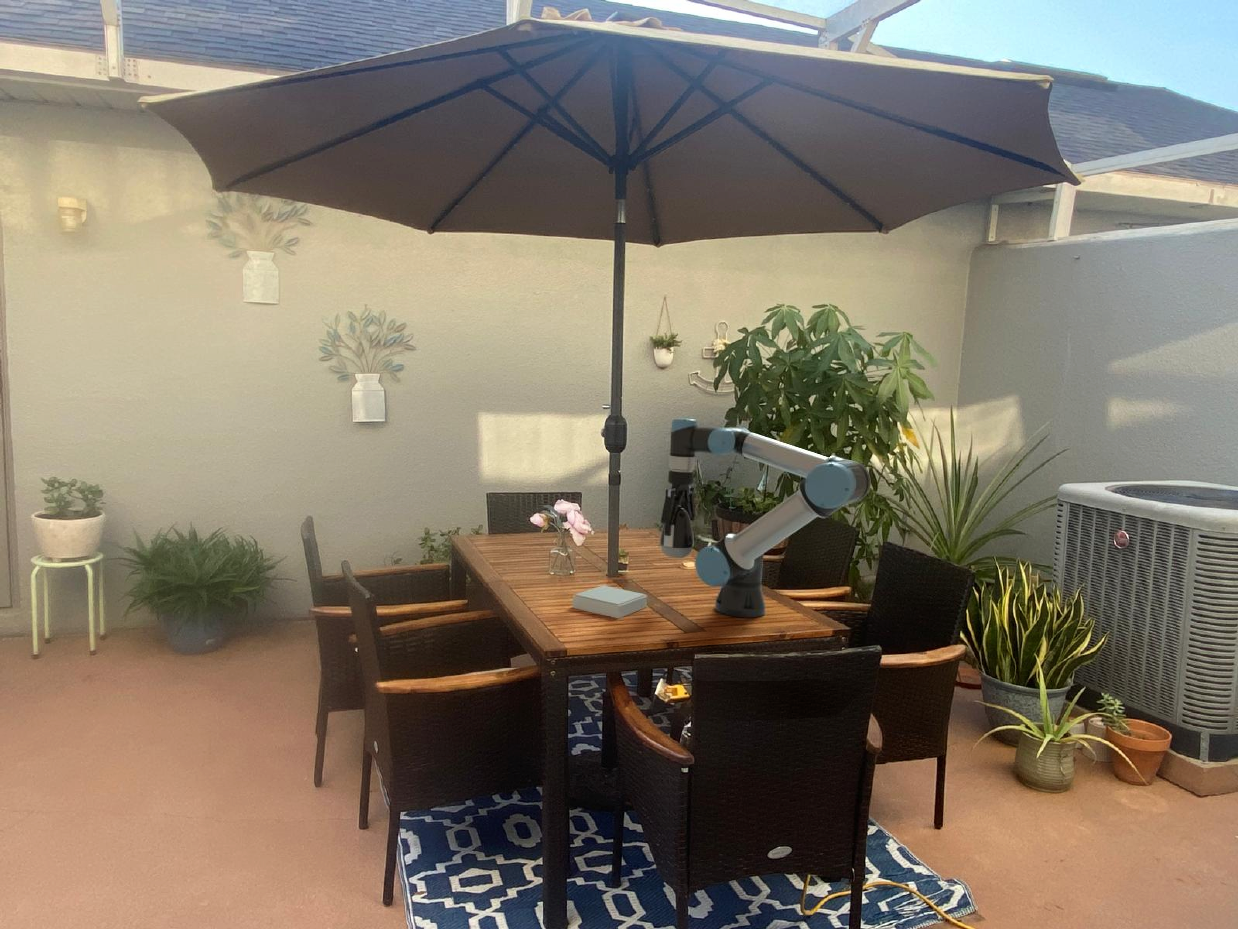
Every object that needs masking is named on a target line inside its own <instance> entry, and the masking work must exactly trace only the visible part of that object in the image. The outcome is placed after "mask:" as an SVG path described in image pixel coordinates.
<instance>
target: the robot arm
mask: <svg viewBox="0 0 1238 929" xmlns="http://www.w3.org/2000/svg"><path fill="white" fill-rule="evenodd" d="M670 428H671V430H670V447H669V448H670V449H669V450H670V451H669V458H668V461H669V463H668V464H669V466H668V468H669V471H668V475H667V476H668V477H667V482H668V483H669V484H671V489H665V498H664V503H663V507H662V512H661V518H660V523H661V524H662V525H664V524H665V532H664V546H667V547H673V538H674V525H672V524H673V521H674V518H675V515H676V512H677V509H678V506H679V505H680V507H683V508H684V509H686V511H687V513H688V515H689V517H690V520H691V522H694V521H695V518H696V509H695V508H696V506H695V495H694V494H695V487H694V486H690V485H693V484H694V478H695V473H694V470H695V462H696V460H695V458H696V453H703V454H704V453H705V454H711V455H712V454H713V455H717V456H720V455H721V456H723V455H730V454H731V453H732V454H736V455H739V456H742V457H745V458H748V459H751V460H753V461H756V462H759V463H761V464H764V465H767V466H770V467H774V468H776V469H779V470H781V471H783V472H786V473H787V472H788V473H790V474H794V475H795V476H799V477H802V478H804V479H803V480H802V481H800V482H799V483H798V489H797V491H796V492H794V493H793V494H792V495H790V496H788V498H786V499H785V500H783V501H782V502H780V503H779V504H777V505H776V506H774V507H773V508H772V509H771V510H769V511H768V512H766V513H765V514H764V515H762V516H761V517H759V518H758V519H757V520H755V521H753V522H752V523H751V524H750V525H748V526H746V527H745V528H744V529H742V530H741V531H740V532H738V533H737V534H735V533H728V534H726V535H725V536H723V537H722V538H720V540H718V541H716V542H715V543H713V544H712V545H707V546H705V547H703V548H702V549H699V551H698V552H697V555H696V557H695V564H694V566H695V571H696V574H697V576H698V577H699V579H700V580H701V581H702V582H703V583H704V584H706V585H707V586H709V587H713V588H716V587H720V589H719V592H718V594H717V595H716V599H715V603H714V610H716V612H718V613H721V614H723V615H726V616H731V617H738V618H757V617H762V616H764V615H765V613H766V602H765V599H764V596H763V590H762V579H763V578H762V577H763V569H764V568H763V567H764V557H765V556H764V554H765V553H767V552H768V551H770V550H771V549H772V548H774V547H775V546H777V545H778V544H780V543H781V542H782V541H784V540H785V539H786V538H788V537H790V536H791V535H792V534H794V533H796V532H797V531H799V530H800V529H801V528H803V527H805V526H806V525H808V524H809V523H811V522H812V521H813V520H815V519H817V518H821V519H826V518H828V517H830V516H831V515H832V514H834V513H835V512H836V511H838V510H840V509H842V507H845V506H846V505H849V504H854V503H857V502H860V501H861V500H863V498H864V499H865V497H866V496H867V494H868V493H869V491H870V489H871V485H872V484H871V483H872V479H871V475H870V473H869V471H868V469H867V468H866V467H865V466H864V465H863V464H862V463H860V462H858V461H855V460H850V459H847V458H842V457H839V456H836V455H831V456H830V457H827V456H824V455H821V454H818V453H815V452H813V451H809V450H806V449H803V448H800V447H797V446H794V445H791V444H787V443H784V442H782V441H779V440H776V439H772V438H770V437H766V436H764V435H761V434H758V433H754V432H751V431H749V429H747V428H745V427H741V426H732V427H710V426H709V427H706V426H699V425H698V422H697V419H693V418H679V417H677V418H674V419H673V420H672V422H671V427H670Z"/></svg>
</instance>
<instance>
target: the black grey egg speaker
mask: <svg viewBox="0 0 1238 929" xmlns="http://www.w3.org/2000/svg"><path fill="white" fill-rule="evenodd" d="M692 524H693V523H692V521H691V520H690V517H689V515H688V513H687V511H686V509H684V508H683V507H681V505H680V506H678V509H677V512H676V515H675V518H674V521H673V524H672V525H674V538H673V547H667V546H664V532H665V524H662V525H663V526H662V529H661V533H660V538H659V545H660V549H661V551H662V553H663V554H664V555H665V556H667V557H669V558H674V559H683V558H686V557H688V555H690V554H691V552H692V550H693V547H694V543H695V540H694V530H693V526H692Z"/></svg>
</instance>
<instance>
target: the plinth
mask: <svg viewBox="0 0 1238 929" xmlns="http://www.w3.org/2000/svg"><path fill="white" fill-rule="evenodd" d="M647 604H648V595H647V594H645V593H641V592H636V591H631V590H627V589H621V588H618V587H613V586H607V585H600V586H598V587H594V588H591V589H589V590H585V591H582V592H578V593H575V594H574V595H573V596H572V609H576V610H580V611H584V612H589V613H593V614H596V615H602V616H607V617H609V616H610V618H615V619H620V618H623V617H626V616H628V615H631V614H634V613H635V612H638V611H641V610H644V609H646V608H647V607H648V606H647Z"/></svg>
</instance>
